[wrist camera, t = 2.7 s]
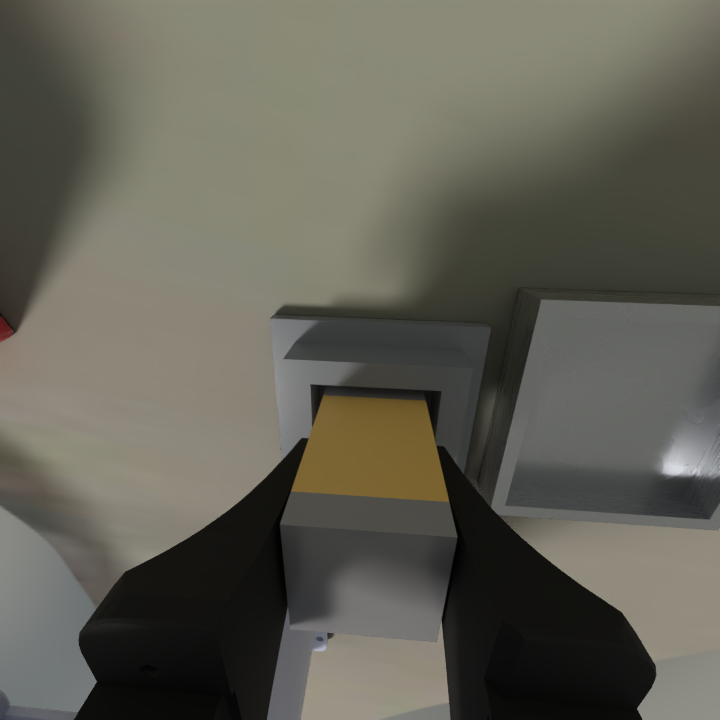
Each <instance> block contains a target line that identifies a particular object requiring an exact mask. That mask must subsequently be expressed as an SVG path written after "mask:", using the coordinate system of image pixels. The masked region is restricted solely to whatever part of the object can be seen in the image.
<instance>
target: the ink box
mask: <svg viewBox="0 0 720 720" xmlns="http://www.w3.org/2000/svg"><path fill="white" fill-rule="evenodd" d="M13 333H14V332H13V330H12V329H11V328H10V327H9V326H8V324H7V323H6V322H5V320H4V319H3V318H2V317H1V316H0V342H1V341H4V340H5V339H7V338H9V337H10V336H12V335H13Z"/></svg>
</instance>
